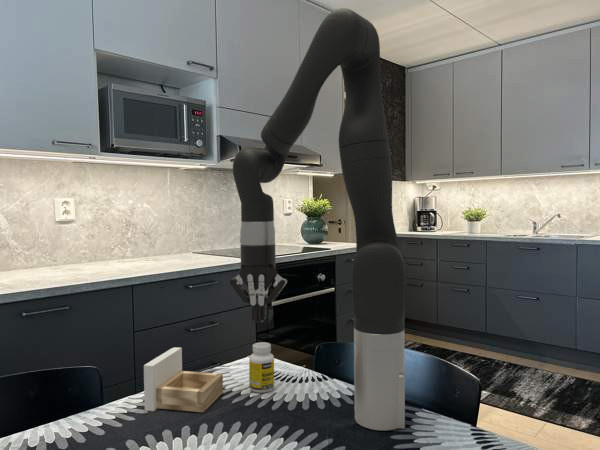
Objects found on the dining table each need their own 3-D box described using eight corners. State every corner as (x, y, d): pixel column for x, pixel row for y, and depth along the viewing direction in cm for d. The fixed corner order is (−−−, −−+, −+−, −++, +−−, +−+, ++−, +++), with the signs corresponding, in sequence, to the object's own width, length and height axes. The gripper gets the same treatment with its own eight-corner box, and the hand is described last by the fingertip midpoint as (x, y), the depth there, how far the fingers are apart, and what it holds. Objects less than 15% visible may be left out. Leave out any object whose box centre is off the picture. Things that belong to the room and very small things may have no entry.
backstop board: (182, 387, 102) (181, 347, 101) (153, 411, 90) (152, 366, 90) (174, 387, 102) (173, 347, 102) (144, 410, 90) (143, 365, 90)
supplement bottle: (262, 395, 97) (262, 349, 97) (244, 389, 100) (243, 345, 100) (279, 387, 101) (278, 343, 101) (261, 382, 105) (260, 339, 104)
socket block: (223, 392, 98) (222, 373, 98) (203, 412, 89) (203, 392, 89) (180, 388, 101) (180, 370, 101) (156, 408, 91) (156, 388, 91)
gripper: (291, 241, 101) (292, 318, 102) (234, 241, 104) (235, 316, 105) (283, 243, 94) (284, 327, 95) (222, 243, 97) (224, 325, 97)
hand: (259, 321), depth 100 cm, fingers closed
